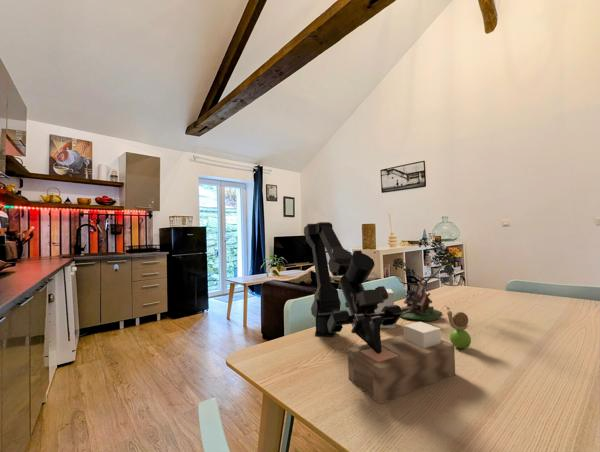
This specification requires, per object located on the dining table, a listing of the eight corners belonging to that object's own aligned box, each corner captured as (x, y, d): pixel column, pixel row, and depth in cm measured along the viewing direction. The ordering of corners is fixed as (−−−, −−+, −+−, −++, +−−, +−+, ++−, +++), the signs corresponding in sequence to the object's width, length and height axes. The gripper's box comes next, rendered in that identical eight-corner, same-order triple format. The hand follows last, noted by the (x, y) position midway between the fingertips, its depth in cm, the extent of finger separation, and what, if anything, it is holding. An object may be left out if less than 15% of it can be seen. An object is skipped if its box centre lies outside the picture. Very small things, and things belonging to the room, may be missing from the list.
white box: (424, 362, 65) (423, 333, 65) (404, 352, 70) (403, 325, 70) (441, 357, 67) (440, 328, 68) (420, 348, 73) (419, 321, 73)
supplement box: (395, 328, 97) (394, 292, 97) (373, 327, 99) (372, 292, 99) (392, 321, 104) (391, 288, 105) (372, 320, 106) (371, 288, 106)
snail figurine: (442, 344, 83) (441, 304, 83) (462, 343, 84) (461, 304, 84) (454, 352, 78) (453, 309, 78) (475, 351, 78) (474, 309, 78)
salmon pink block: (379, 395, 58) (378, 361, 58) (360, 381, 64) (360, 351, 64) (399, 387, 61) (398, 355, 61) (380, 374, 66) (379, 345, 66)
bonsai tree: (444, 334, 91) (441, 239, 92) (380, 317, 109) (378, 238, 110) (478, 312, 114) (476, 236, 115) (420, 301, 132) (419, 236, 133)
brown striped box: (380, 403, 55) (379, 368, 56) (348, 378, 65) (347, 349, 65) (455, 373, 66) (454, 344, 66) (418, 356, 76) (417, 330, 76)
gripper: (330, 278, 65) (353, 341, 54) (397, 273, 71) (430, 330, 60) (319, 303, 73) (338, 364, 62) (381, 297, 78) (408, 352, 67)
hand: (379, 352), depth 62 cm, fingers closed, pressing on salmon pink block
